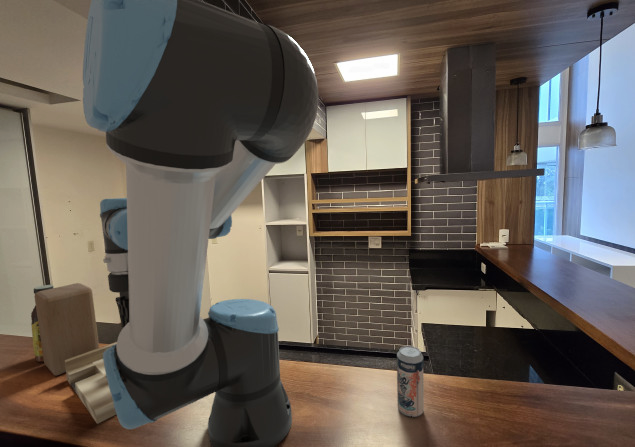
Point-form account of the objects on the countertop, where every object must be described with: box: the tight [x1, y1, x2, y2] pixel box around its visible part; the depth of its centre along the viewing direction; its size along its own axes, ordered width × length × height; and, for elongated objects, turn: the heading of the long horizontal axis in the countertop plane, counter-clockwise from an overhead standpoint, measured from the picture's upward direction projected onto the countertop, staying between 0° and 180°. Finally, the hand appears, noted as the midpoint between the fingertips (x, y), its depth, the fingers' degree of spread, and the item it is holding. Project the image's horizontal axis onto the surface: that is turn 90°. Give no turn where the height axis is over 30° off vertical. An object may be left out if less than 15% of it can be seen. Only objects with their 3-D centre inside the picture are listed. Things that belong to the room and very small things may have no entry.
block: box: [33, 282, 100, 376], centre depth 81 cm, size 10×10×20 cm
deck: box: [64, 341, 117, 425], centre depth 71 cm, size 23×12×5 cm, turn 50°
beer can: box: [396, 345, 424, 418], centre depth 59 cm, size 5×5×12 cm
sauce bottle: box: [30, 284, 54, 363], centre depth 84 cm, size 7×6×20 cm
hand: (139, 373), depth 68 cm, fingers closed
